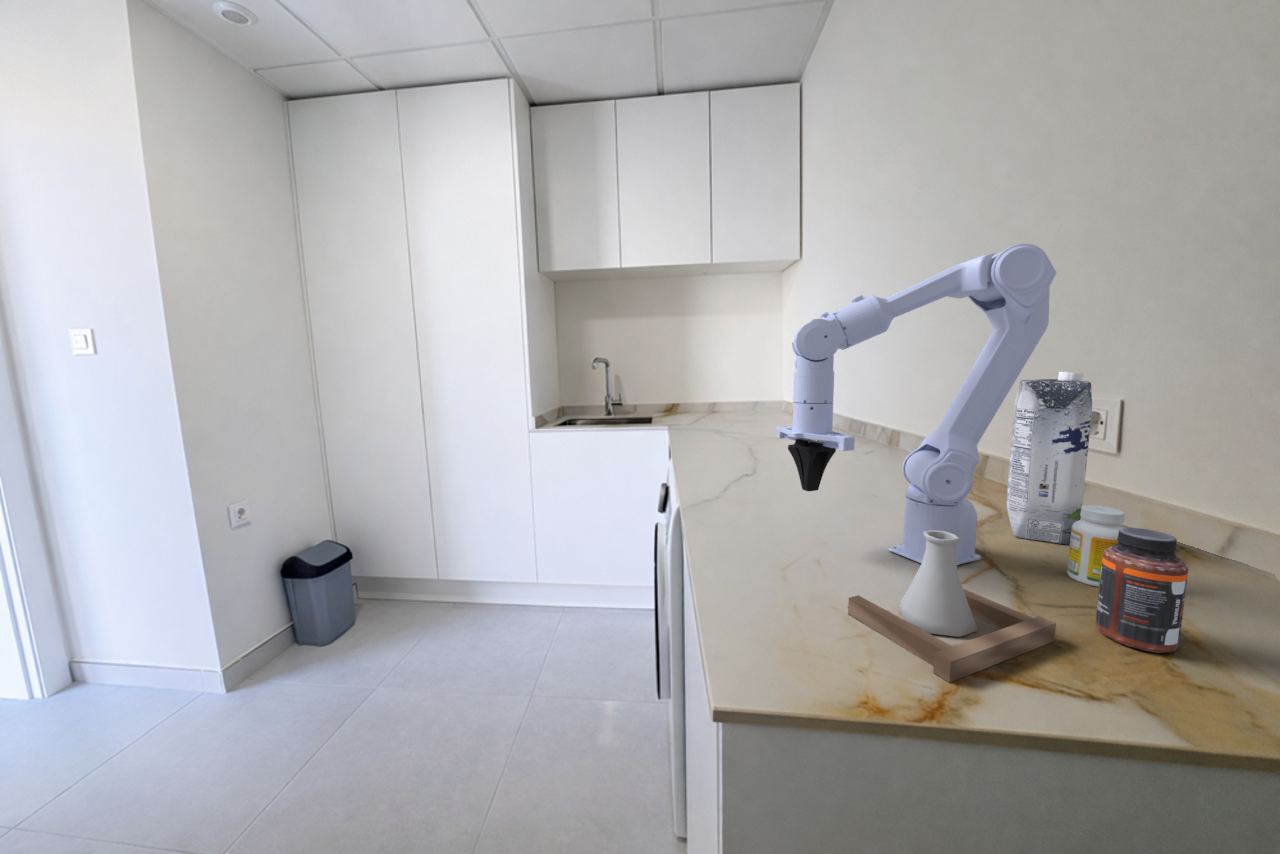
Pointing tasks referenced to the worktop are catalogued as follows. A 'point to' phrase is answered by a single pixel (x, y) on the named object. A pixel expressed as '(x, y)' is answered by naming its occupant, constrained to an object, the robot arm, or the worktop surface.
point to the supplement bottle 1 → (1092, 542)
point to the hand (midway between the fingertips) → (810, 489)
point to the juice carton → (1049, 457)
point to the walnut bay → (968, 656)
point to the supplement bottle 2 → (1142, 591)
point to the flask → (938, 590)
